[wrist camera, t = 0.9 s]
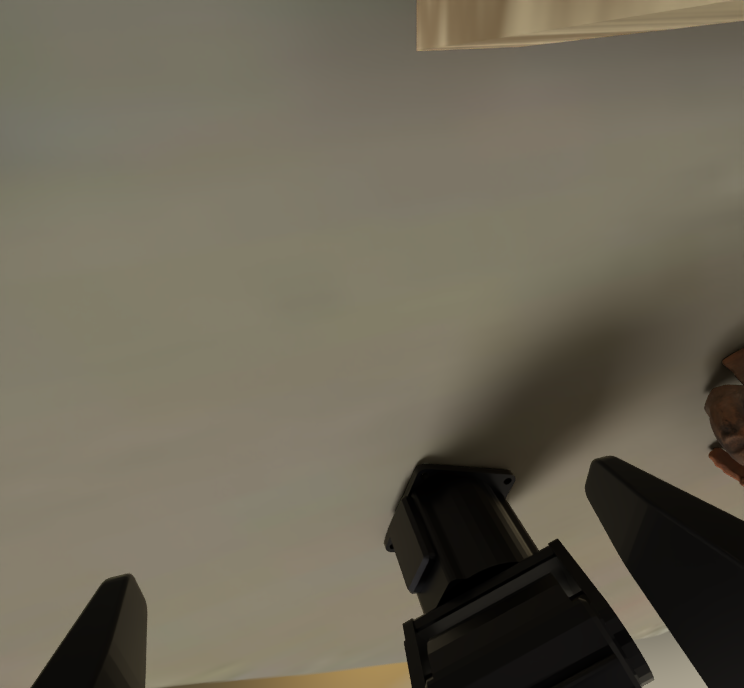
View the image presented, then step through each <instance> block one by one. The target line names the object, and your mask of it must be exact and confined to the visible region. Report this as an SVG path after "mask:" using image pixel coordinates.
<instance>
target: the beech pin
mask: <svg viewBox="0 0 744 688" xmlns="http://www.w3.org/2000/svg"><path fill="white" fill-rule="evenodd" d="M737 21H744V0H417V51H431V50H455V49H480V48H504V47H523V46H531V45H540V44H548V43H557V42H566V41H574V40H583V39H591V38H600V37H608V36H617V35H626V34H634V33H643V32H651V31H660V30H668V29H677V28H686V27H694V26H703V25H711V24H720V23H728V22H737Z"/></svg>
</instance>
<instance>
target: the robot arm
mask: <svg viewBox="0 0 744 688" xmlns="http://www.w3.org/2000/svg"><path fill="white" fill-rule="evenodd" d="M424 472H425V473H424ZM422 473H424V474H422ZM514 482H515V476H514V475H513V473H512V472H511V471H509V470H500V469H487V468H474V467H460V466H447V465H434V464H421V465H419V466H417V467H416V468H415V470H414V472H413V475H412V477H411V479H410V482H409V484H408V486H407V489H406V491H405V493H404V496H403V497H402V499H401V500H400V502H399V504H398V507H397V509H396V511H395V514H394V516H393V519H392V521H391V523H390V526H389V528H388V533H387V535H386V538H385V540H384V545H385V548H386V550H387V551H388V552H395V553H396V556H397V559H398V562H399V565H400V568H401V571H402V574H403V577H404V580H405V583H406V586H407V589H408V590H409V591H410V593H412V594H415V593H417V596H418V599H419V602H420V605H421V607H422V610H423V613H424V615H422V616H420V617H418V618H416V619H410V620H408V621H407V622H405V623H403V629H404V635H405V641H404V646H405V651H406V657H407V663H408V668H409V674H410V679H411V685H412V688H642V687H641V686H644V685H646V684H648V683H650V682H651V681H653V680H654V677H653V675H652V672H651V670H650V668H649V666H648V664H647V663H646V661H645V659H644V658H643V656H642V654H641V652H640V651H639V649H638V648H637V646H636V644H635V643H634V641H633V639H632V638H631V636H630V635H629V633H628V632H627V630H626V628H625V627H624V626H623V624H622V623H621V621H620V620H619V618H618V617H617V615H616V614H615V612H614V611H613V610H612V608H611V607H610V605H609V604H608V603H607V601H606V600H605V599H604V597H603V596H602V595H601V593H600V592H599V591H598V590H597V588H596V587H595V586H594V584H593V583H592V582H591V581H590V579H589V578H588V577H587V575H586V574H585V573H584V572H583V570H582V569H581V568H580V566H579V565H578V564H577V563H576V561H575V560H574V559H573V557H572V556H571V555H570V554H569V552H568V551H567V550H566V548H565V547H564V546H563V545H562V543H561V542H560V541H559V539H558V538H557V539H555V540H554V541H552V542H550V543H548V545H549V546H547V547H545V548H543V549H541V550H540V551H539V550H538V548H537V547H536V545H535V544H534V542H533V541H532V539H531V537H530V536H529V534H528V533H527V531H526V530H525V528H524V527H523V525H522V523H521V522H520V520H519V519H518V517H517V516H516V514H515V513H514V511H513V509H512V508H511V506H510V505H509V503H508V502H507V500H506V497H507V495H508V493H509V491H510V489H511V488H512V486H513V484H514ZM585 492H586V496H587V498H588V500H589V502H590V504H591V505H592V507H593V509H594V511H595V513H596V514H597V516H598V518H599V520H600V522H601V523H602V525H603V527H604V529H605V531H606V532H607V534H608V536H609V538H610V540H611V542H612V543H613V545H614V547H615V549H616V551H617V552H618V554H619V556H620V558H621V559H622V561H623V563H624V564H625V566H626V567H627V569H628V571H629V572H630V574H631V575H632V577H633V578H634V580H635V581H636V582H637V584H638V585H639V587H640V588H641V590H642V591H643V593H644V594H645V596H646V597H647V599H648V600H649V602H650V603H651V604H652V606H653V607H654V609H655V610H656V612H657V613H658V615H659V616H660V618H661V619H662V621H663V622H664V623H665V625H666V626H667V628H668V629H669V631H670V632H671V634H672V635H673V637H674V638H675V640H676V641H677V642H678V644H679V645H680V647H681V648H682V650H683V651H684V653H685V654H686V655H687V657H688V658H689V660H690V662H691V663H692V664H693V666H694V667H695V669H696V670H697V672H698V673H699V675H700V676H701V677H702V679H703V681H704V682H705V683H706V685H707V686H708V688H744V521H743V520H741V519H739V518H737V517H735V516H733V515H731V514H729V513H727V512H725V511H723V510H721V509H719V508H717V507H715V506H713V505H711V504H709V503H707V502H705V501H703V500H701V499H699V498H697V497H695V496H693V495H691V494H689V493H687V492H685V491H683V490H681V489H679V488H677V487H675V486H673V485H671V484H669V483H667V482H665V481H663V480H661V479H659V478H657V477H655V476H653V475H651V474H649V473H647V472H645V471H643V470H641V469H639V468H637V467H635V466H633V465H631V464H629V463H627V462H625V461H623V460H621V459H619V458H617V457H615V456H605V457H601V458H597V459H594V460H593V461H592V462H591V465H590V469H589V472H588V476H587V480H586V484H585ZM146 642H147V605H146V601H145V598H144V596H143V594H142V592H141V590H140V588H139V586H138V584H137V582H136V580H135V578H134V577H133V575H131V574H123V575H119V576H115V577H111V578H108V579H106V580H105V581H104V582H103V583H102V584H101V585H100V587H99V588H98V590H97V591H96V592H95V594H94V595H93V597H92V598H91V600H90V601H89V603H88V604H87V606H86V607H85V609H84V610H83V612H82V613H81V615H80V616H79V617H78V619H77V620H76V622H75V623H74V625H73V626H72V628H71V629H70V631H69V632H68V634H67V635H66V637H65V638H64V640H63V641H62V642H61V644H60V645H59V647H58V648H57V650H56V651H55V653H54V654H53V656H52V657H51V659H50V660H49V662H48V663H47V665H46V666H45V667H44V669H43V670H42V672H41V673H40V675H39V676H38V678H37V679H36V681H35V682H34V684H33V685H32V687H31V688H145V676H146Z"/></svg>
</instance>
